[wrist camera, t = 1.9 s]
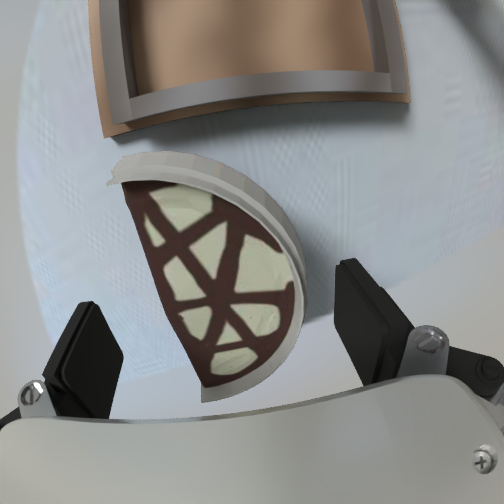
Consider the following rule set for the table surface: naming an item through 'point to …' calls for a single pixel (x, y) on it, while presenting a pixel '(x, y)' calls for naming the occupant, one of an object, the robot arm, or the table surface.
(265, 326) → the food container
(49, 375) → the robot arm
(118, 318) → the table surface
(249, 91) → the wooden tray
